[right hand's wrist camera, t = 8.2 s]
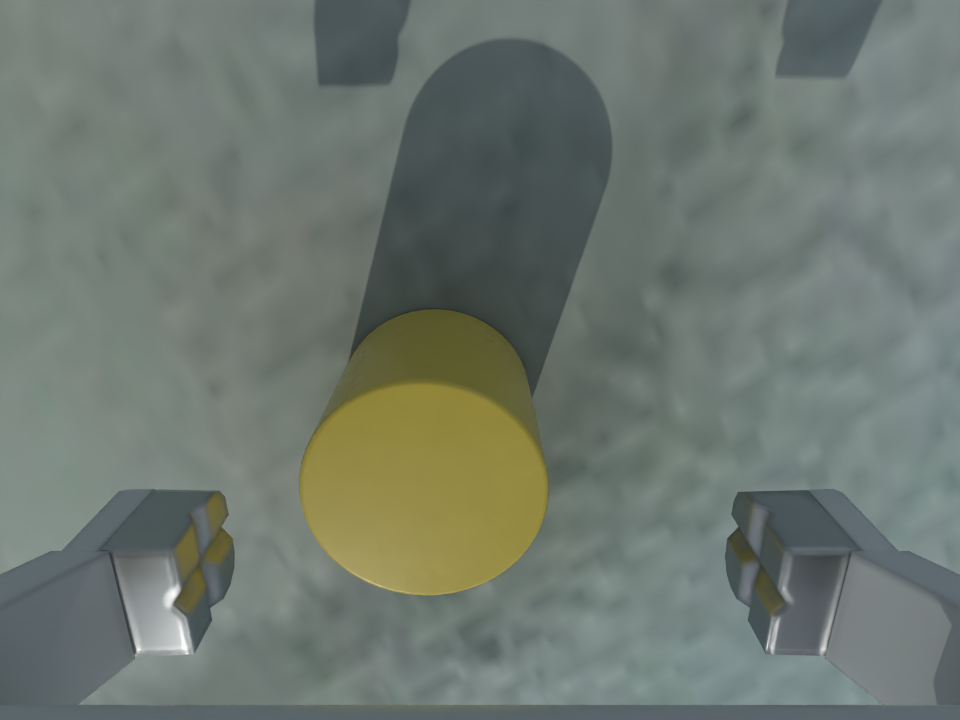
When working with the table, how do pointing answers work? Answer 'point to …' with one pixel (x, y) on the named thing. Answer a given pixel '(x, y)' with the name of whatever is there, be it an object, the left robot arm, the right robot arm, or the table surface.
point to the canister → (427, 458)
